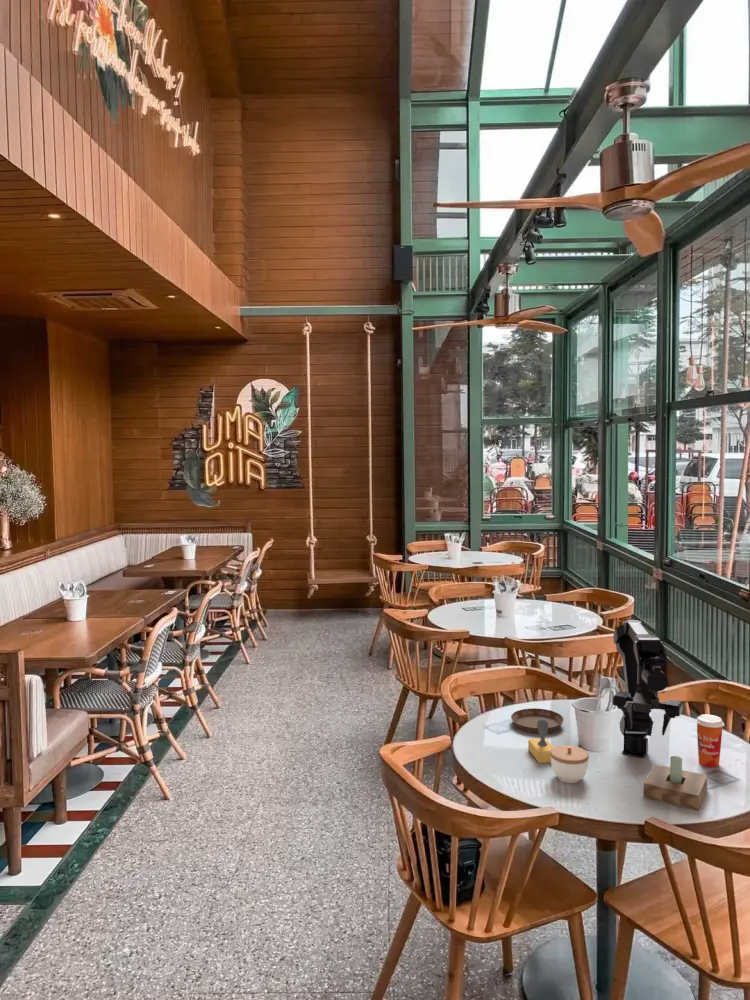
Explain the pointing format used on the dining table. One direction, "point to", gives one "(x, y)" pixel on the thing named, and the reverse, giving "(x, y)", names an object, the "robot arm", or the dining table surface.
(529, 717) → the plant saucer
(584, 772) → the lidded jar
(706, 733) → the paper cup
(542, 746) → the rubber stamp
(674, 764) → the peg
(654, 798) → the hole block
